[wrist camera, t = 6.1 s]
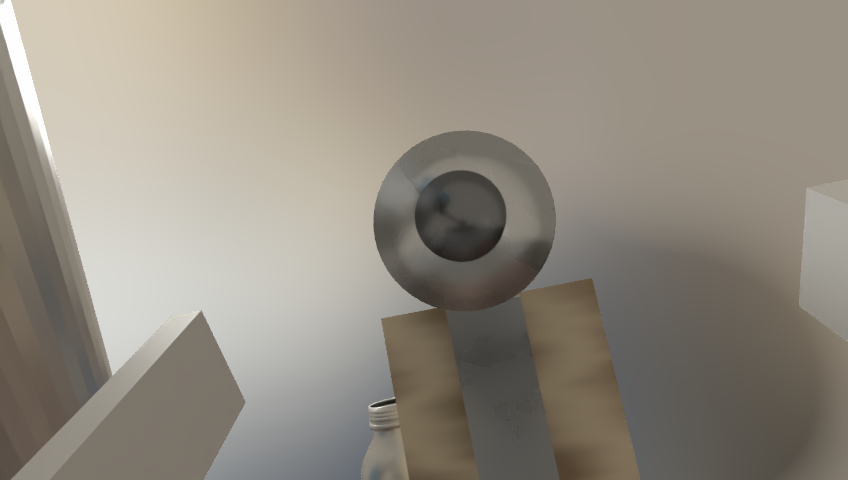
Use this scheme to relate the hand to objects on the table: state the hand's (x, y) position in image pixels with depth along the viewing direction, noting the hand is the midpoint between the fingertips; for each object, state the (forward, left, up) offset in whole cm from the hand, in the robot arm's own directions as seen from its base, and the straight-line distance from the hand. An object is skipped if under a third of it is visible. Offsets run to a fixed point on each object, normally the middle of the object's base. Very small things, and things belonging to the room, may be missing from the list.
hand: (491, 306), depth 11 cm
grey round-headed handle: (0, +13, -2) cm, 13 cm away
